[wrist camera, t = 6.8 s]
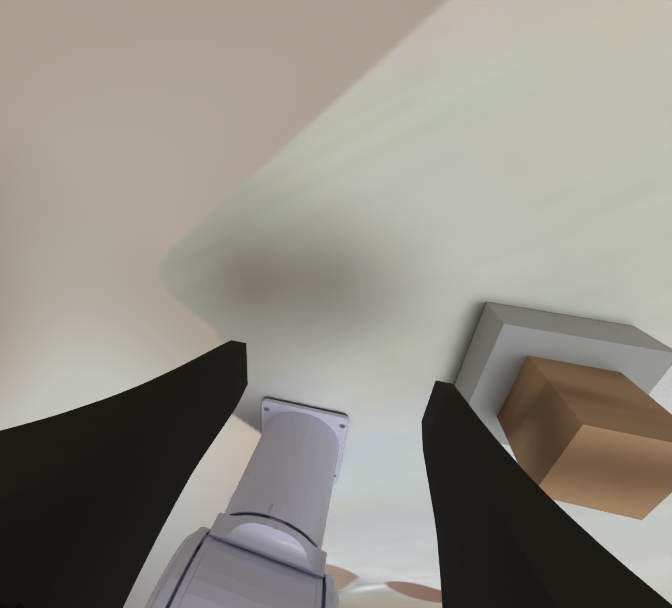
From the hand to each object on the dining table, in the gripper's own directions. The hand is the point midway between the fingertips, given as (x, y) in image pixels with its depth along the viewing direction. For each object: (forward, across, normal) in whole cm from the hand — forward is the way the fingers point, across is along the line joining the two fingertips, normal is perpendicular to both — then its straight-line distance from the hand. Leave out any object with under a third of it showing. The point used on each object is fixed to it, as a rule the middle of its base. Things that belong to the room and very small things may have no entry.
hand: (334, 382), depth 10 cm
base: (+10, -13, +4) cm, 17 cm away
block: (+7, -13, +4) cm, 15 cm away
